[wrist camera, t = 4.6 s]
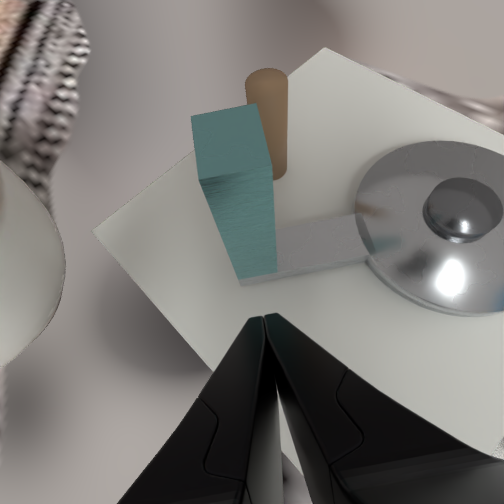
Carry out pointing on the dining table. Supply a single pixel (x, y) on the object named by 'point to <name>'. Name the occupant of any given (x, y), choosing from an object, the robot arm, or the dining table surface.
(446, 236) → the flange plate
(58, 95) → the dining table surface
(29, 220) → the lidded bowl
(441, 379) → the clock board
